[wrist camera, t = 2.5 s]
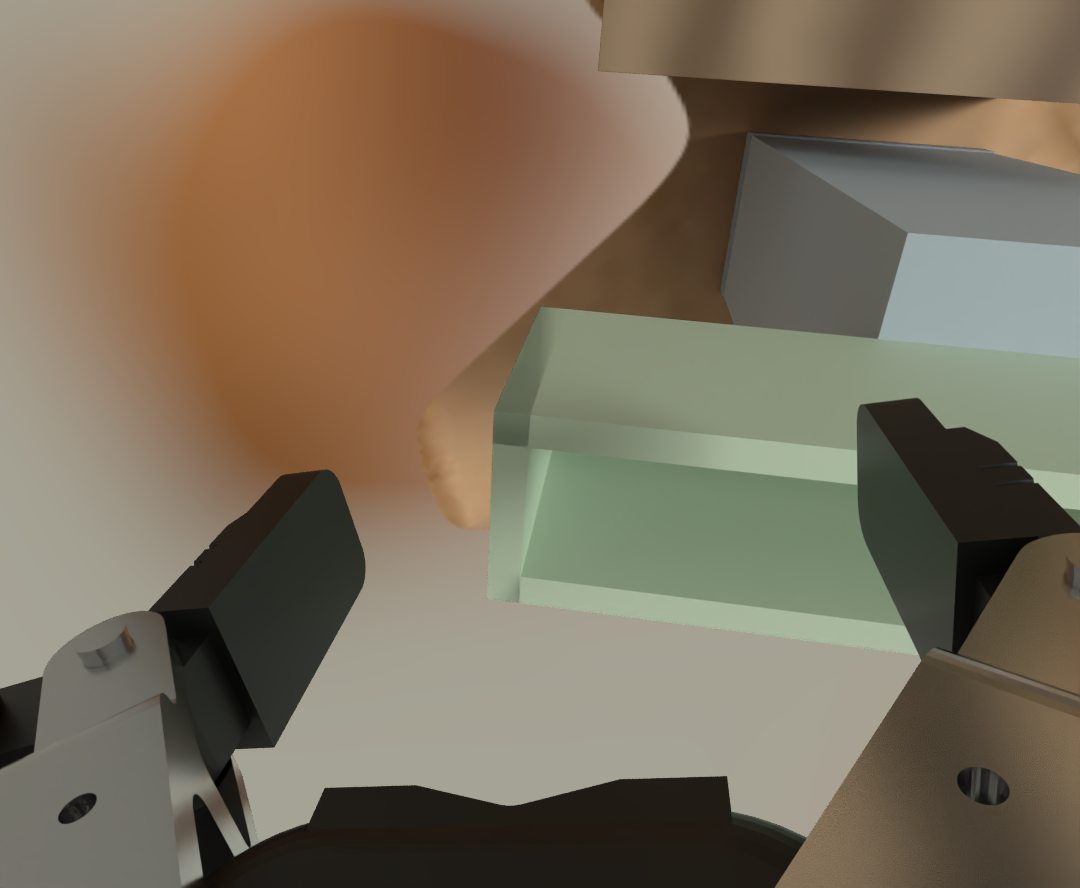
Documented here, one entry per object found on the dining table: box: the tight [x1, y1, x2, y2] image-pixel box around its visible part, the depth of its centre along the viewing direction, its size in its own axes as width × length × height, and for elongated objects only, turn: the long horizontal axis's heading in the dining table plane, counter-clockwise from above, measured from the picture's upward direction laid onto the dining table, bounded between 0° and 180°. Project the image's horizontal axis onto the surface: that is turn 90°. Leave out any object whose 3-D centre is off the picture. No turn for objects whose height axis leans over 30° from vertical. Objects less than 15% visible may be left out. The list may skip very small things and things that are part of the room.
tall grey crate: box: [720, 132, 1080, 358], centre depth 34 cm, size 14×10×32 cm
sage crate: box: [487, 307, 1080, 655], centre depth 17 cm, size 22×4×7 cm, turn 87°
